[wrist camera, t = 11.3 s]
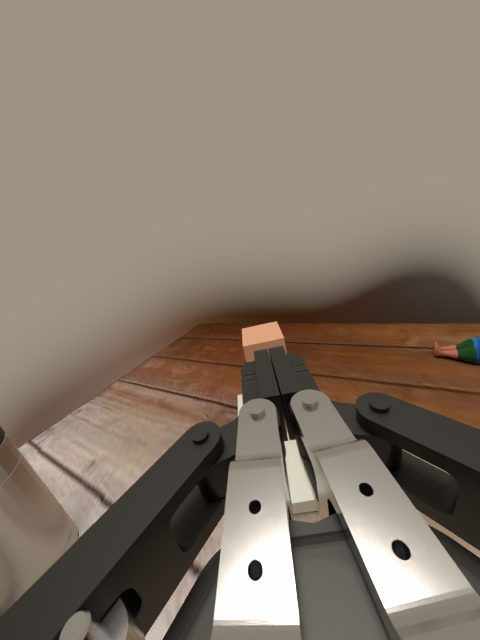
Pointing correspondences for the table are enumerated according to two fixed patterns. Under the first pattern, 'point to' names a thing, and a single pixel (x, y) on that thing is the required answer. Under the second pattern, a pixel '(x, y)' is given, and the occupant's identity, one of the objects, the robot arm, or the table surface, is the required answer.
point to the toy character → (461, 350)
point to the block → (261, 339)
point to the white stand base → (295, 477)
